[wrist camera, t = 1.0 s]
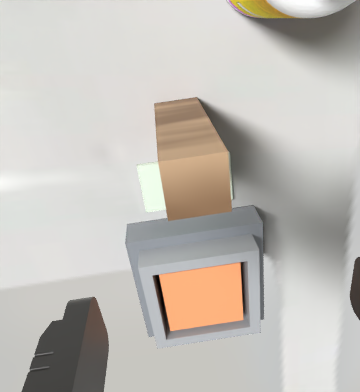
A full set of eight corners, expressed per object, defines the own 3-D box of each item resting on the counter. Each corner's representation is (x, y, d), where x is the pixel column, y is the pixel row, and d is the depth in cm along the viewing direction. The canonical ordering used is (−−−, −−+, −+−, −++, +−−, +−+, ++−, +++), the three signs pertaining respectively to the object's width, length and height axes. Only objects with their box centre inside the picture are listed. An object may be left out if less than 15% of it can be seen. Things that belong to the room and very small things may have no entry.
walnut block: (154, 103, 27) (158, 161, 16) (196, 97, 27) (228, 151, 16) (160, 144, 28) (168, 221, 18) (200, 138, 28) (231, 211, 18)
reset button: (158, 253, 32) (159, 275, 29) (232, 241, 32) (240, 262, 29) (168, 307, 35) (170, 331, 32) (236, 296, 35) (243, 319, 32)
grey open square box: (127, 224, 32) (123, 260, 27) (253, 205, 32) (271, 238, 27) (148, 314, 38) (148, 356, 33) (255, 297, 38) (270, 337, 33)
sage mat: (136, 164, 29) (136, 166, 29) (229, 151, 29) (230, 152, 29) (146, 210, 31) (146, 212, 31) (231, 197, 31) (232, 199, 31)
